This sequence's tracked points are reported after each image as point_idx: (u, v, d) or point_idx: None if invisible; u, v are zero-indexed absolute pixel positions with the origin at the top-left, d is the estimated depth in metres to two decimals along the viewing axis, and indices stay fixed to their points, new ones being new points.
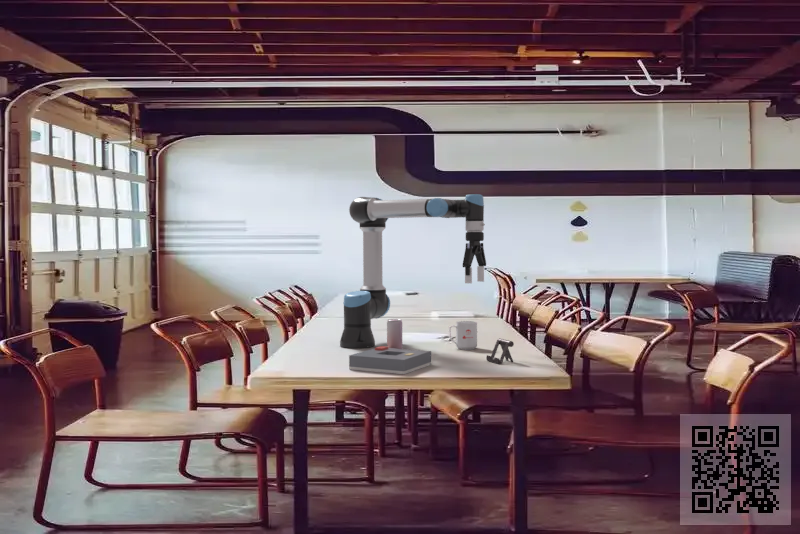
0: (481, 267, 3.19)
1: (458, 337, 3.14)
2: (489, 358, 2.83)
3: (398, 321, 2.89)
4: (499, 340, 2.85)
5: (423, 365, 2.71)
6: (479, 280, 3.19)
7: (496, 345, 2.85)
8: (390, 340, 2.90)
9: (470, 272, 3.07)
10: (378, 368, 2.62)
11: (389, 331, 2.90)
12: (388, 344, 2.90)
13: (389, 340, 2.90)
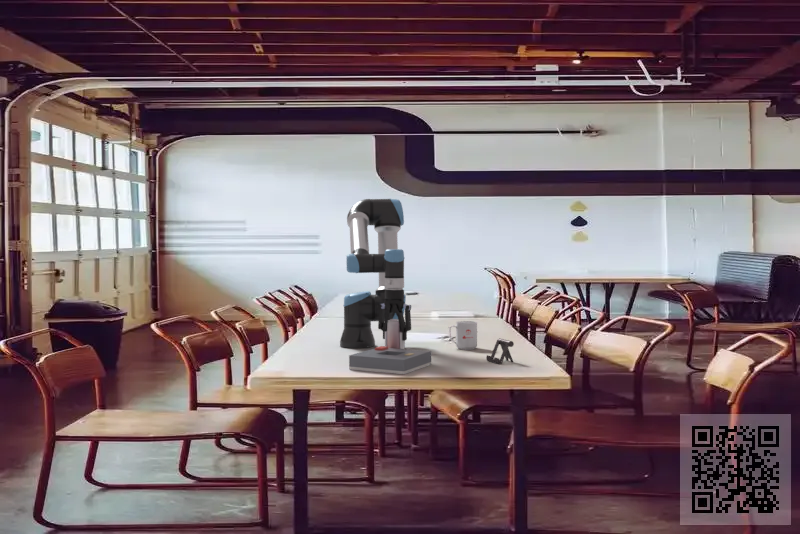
0: None
1: (458, 337, 3.14)
2: (489, 358, 2.83)
3: (398, 321, 2.89)
4: (499, 340, 2.85)
5: (423, 365, 2.71)
6: None
7: (496, 345, 2.85)
8: (390, 340, 2.90)
9: (385, 336, 2.93)
10: (378, 368, 2.62)
11: (389, 331, 2.90)
12: (388, 344, 2.90)
13: (389, 340, 2.90)
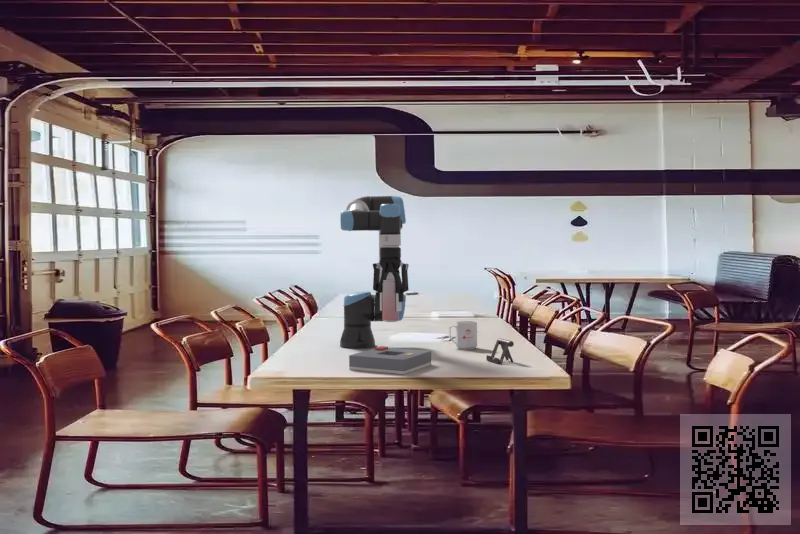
0: None
1: (458, 337, 3.14)
2: (489, 358, 2.83)
3: (394, 281, 2.69)
4: (499, 340, 2.85)
5: (423, 365, 2.71)
6: None
7: (496, 345, 2.85)
8: (385, 301, 2.69)
9: (380, 298, 2.73)
10: (378, 368, 2.62)
11: (384, 292, 2.69)
12: (383, 306, 2.70)
13: (384, 301, 2.70)
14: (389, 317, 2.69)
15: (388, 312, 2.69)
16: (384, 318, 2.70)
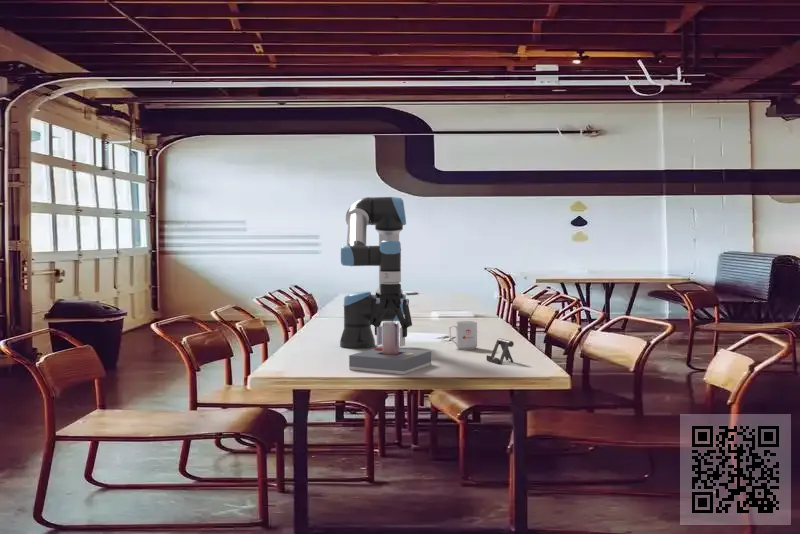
0: None
1: (458, 337, 3.14)
2: (489, 358, 2.83)
3: (394, 324, 2.70)
4: (499, 340, 2.85)
5: (423, 365, 2.71)
6: None
7: (496, 345, 2.85)
8: (385, 345, 2.70)
9: (377, 332, 2.74)
10: (378, 368, 2.62)
11: (385, 335, 2.70)
12: (384, 349, 2.71)
13: (385, 345, 2.70)
14: None
15: None
16: None
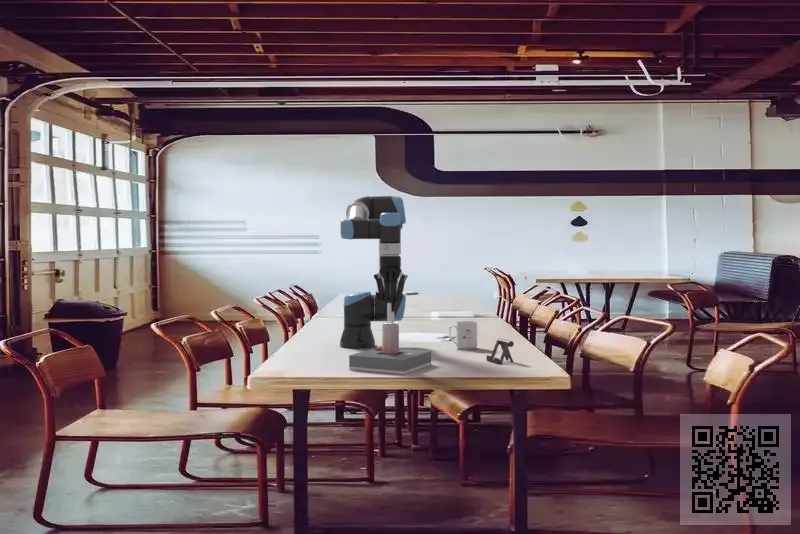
0: None
1: (458, 337, 3.14)
2: (489, 358, 2.83)
3: (394, 324, 2.70)
4: (499, 340, 2.85)
5: (423, 365, 2.71)
6: None
7: (496, 345, 2.85)
8: (385, 345, 2.70)
9: (387, 308, 2.71)
10: (378, 368, 2.62)
11: (385, 335, 2.70)
12: (383, 349, 2.71)
13: (385, 345, 2.70)
14: None
15: None
16: None
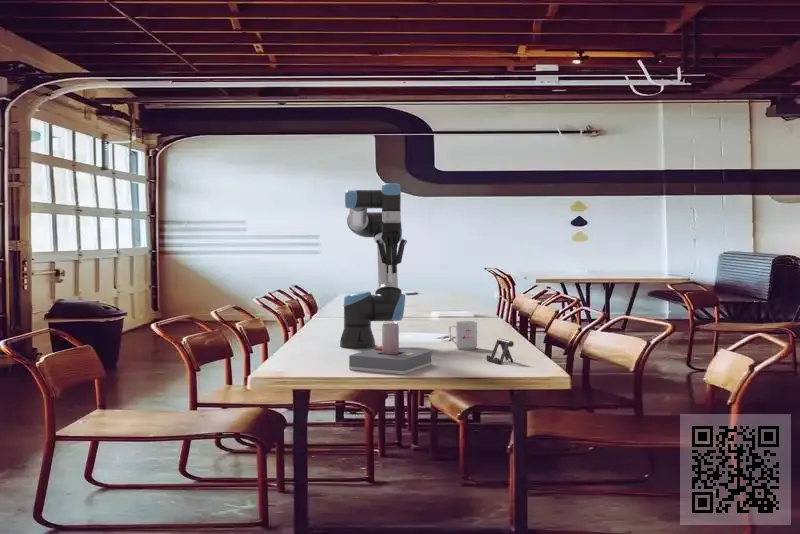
0: None
1: (458, 337, 3.14)
2: (489, 358, 2.83)
3: (394, 324, 2.70)
4: (499, 340, 2.85)
5: (423, 365, 2.71)
6: None
7: (496, 345, 2.85)
8: (385, 345, 2.70)
9: (388, 270, 2.99)
10: (378, 368, 2.62)
11: (384, 335, 2.70)
12: (383, 349, 2.71)
13: (384, 345, 2.70)
14: None
15: None
16: None
